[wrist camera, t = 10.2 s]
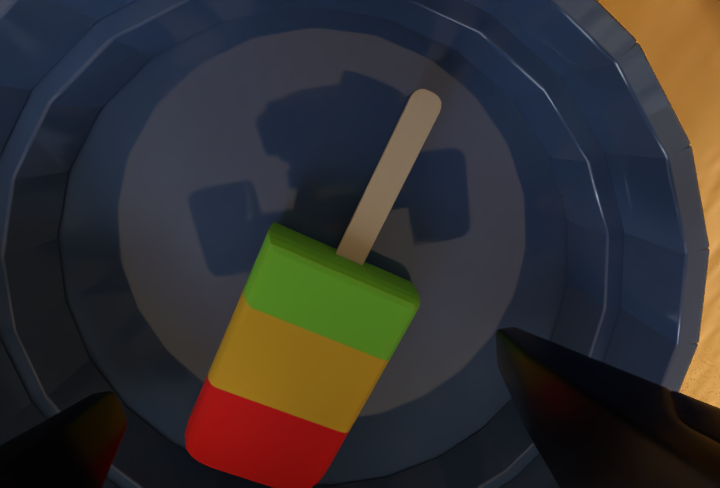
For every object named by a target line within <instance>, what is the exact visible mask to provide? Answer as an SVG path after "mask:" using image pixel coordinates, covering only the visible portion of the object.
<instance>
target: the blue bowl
mask: <svg viewBox="0 0 720 488" xmlns="http://www.w3.org/2000/svg"><path fill="white" fill-rule="evenodd" d="M635 42H636V39H635V38H634V37H633V36H632V35H631V34H630V33H629V32H628V31H627V30H626V29H625V28H624V27H623V26H622V25H621V24H620V23H619V22H618V21H617V20H616V19H615V18H614V17H613V16H612V15H611V14H610V13H609V12H608V11H607V10H606V9H605V8H604V7H603V6H602V5H601V4H600V3H599V2H598V1H597V0H0V445H2V444H4V443H5V442H7V441H9V440H11V439H13V438H14V437H16V436H18V435H20V434H21V433H23V432H25V431H27V430H29V429H30V428H32V427H34V426H36V425H38V424H39V423H41V422H43V421H45V420H46V419H48V418H50V417H52V416H54V415H55V414H57V413H59V412H61V411H63V410H64V409H66V408H68V407H70V406H71V405H73V404H75V403H77V402H79V401H80V400H82V399H84V398H86V397H88V396H89V395H91V394H94V393H98V392H105V391H112V392H114V393H115V394H116V395H117V397H118V400H119V402H120V405H121V407H122V410H123V412H124V415H125V417H126V421H127V426H126V430H125V433H124V435H123V438H122V440H121V443H120V445H119V448H118V450H117V452H116V455H115V457H114V460H113V462H112V465H111V467H110V469H109V472H108V474H107V477H106V479H105V481H104V484H103V486H102V488H273V487H270V486H267V485H264V484H261V483H257V482H254V481H251V480H248V479H245V478H242V477H239V476H236V475H233V474H229V473H226V472H223V471H220V470H217V469H214V468H211V467H209V466H207V465H204V464H202V463H200V462H198V461H197V460H196V459H194V458H193V457H192V456H191V455H190V454H189V452H188V451H187V449H186V445H185V431H186V427H187V423H188V420H189V417H190V415H191V413H192V410H193V408H194V405H195V403H196V401H197V398H198V396H199V394H200V391H201V389H202V386H203V384H204V382H205V379H206V377H207V375H208V372H209V370H210V367H211V365H212V363H213V360H214V358H215V356H216V353H217V351H218V348H219V346H220V344H221V341H222V339H223V337H224V334H225V332H226V330H227V327H228V325H229V322H230V320H231V318H232V315H233V313H234V311H235V308H236V306H237V303H238V301H239V299H240V296H241V294H242V292H243V289H244V287H245V285H246V282H247V280H248V277H249V275H250V273H251V270H252V268H253V266H254V263H255V261H256V259H257V256H258V254H259V251H260V249H261V247H262V244H263V242H264V240H265V237H266V235H267V232H268V230H269V228H270V226H271V225H272V224H273V223H274V222H276V223H278V224H280V225H282V226H285V227H287V228H289V229H292V230H294V231H296V232H298V233H301V234H303V235H305V236H308V237H310V238H312V239H314V240H317V241H319V242H321V243H324V244H326V245H328V246H330V247H333V248H335V249H337V248H338V246H339V244H340V242H341V240H342V238H343V236H344V234H345V231H346V229H347V227H348V225H349V223H350V221H351V219H352V217H353V215H354V213H355V211H356V208H357V206H358V204H359V202H360V200H361V198H362V196H363V194H364V192H365V190H366V188H367V185H368V183H369V181H370V179H371V177H372V175H373V173H374V171H375V169H376V167H377V165H378V162H379V160H380V158H381V156H382V154H383V152H384V150H385V148H386V146H387V144H388V142H389V140H390V137H391V135H392V133H393V131H394V129H395V127H396V125H397V123H398V121H399V119H400V117H401V114H402V112H403V110H404V108H405V106H406V104H407V102H408V100H409V98H410V96H411V95H412V94H413V93H414V92H415V91H416V90H419V89H426V90H429V91H431V92H433V93H434V94H436V95H437V96H438V97H439V98H440V100H441V110H440V112H439V115H438V117H437V119H436V121H435V123H434V125H433V126H432V128H431V130H430V132H429V134H428V136H427V138H426V140H425V142H424V144H423V146H422V148H421V150H420V152H419V154H418V156H417V158H416V160H415V162H414V164H413V166H412V168H411V170H410V172H409V174H408V176H407V178H406V180H405V182H404V184H403V186H402V188H401V190H400V192H399V194H398V196H397V198H396V200H395V202H394V204H393V206H392V208H391V210H390V212H389V214H388V216H387V218H386V220H385V222H384V224H383V226H382V228H381V230H380V232H379V234H378V236H377V238H376V240H375V242H374V244H373V246H372V248H371V250H370V252H369V254H368V256H367V258H366V259H365V262H367V263H369V264H371V265H374V266H376V267H378V268H381V269H383V270H385V271H387V272H390V273H392V274H394V275H397V276H399V277H401V278H403V279H406V280H408V281H410V282H411V283H412V284H413V285H414V286H415V288H416V290H417V292H418V294H419V297H420V306H419V308H418V310H417V312H416V314H415V316H414V317H413V319H412V321H411V323H410V324H409V326H408V328H407V330H406V332H405V333H404V335H403V337H402V339H401V340H400V342H399V344H398V346H397V348H396V349H395V351H394V353H393V355H392V356H391V358H390V360H389V362H388V363H387V365H386V367H385V369H384V371H383V372H382V374H381V376H380V378H379V379H378V381H377V383H376V385H375V387H374V388H373V390H372V392H371V394H370V395H369V397H368V399H367V401H366V402H365V404H364V406H363V408H362V410H361V411H360V413H359V415H358V417H357V418H356V420H355V422H354V424H353V426H352V427H351V429H350V431H349V433H348V434H347V436H346V438H345V440H344V441H343V443H342V445H341V447H340V449H339V450H338V452H337V454H336V456H335V457H334V459H333V461H332V463H331V465H330V466H329V468H328V470H327V471H326V473H325V474H324V476H323V477H322V478H321V480H320V481H319V482H318V483H317V484H316V485H314V486H313V487H312V488H560V487H559V486H558V484H557V482H556V480H555V479H554V477H553V475H552V474H551V472H550V470H549V469H548V467H547V465H546V463H545V462H544V460H543V458H542V457H541V455H540V453H539V451H538V450H537V448H536V446H535V445H534V443H533V441H532V440H531V438H530V436H529V434H528V432H527V430H526V428H525V426H524V424H523V422H522V420H521V418H520V415H519V413H518V411H517V409H516V407H515V404H514V402H513V400H512V398H511V395H510V393H509V391H508V389H507V386H506V384H505V382H504V380H503V377H502V375H501V373H500V371H499V368H498V364H497V354H496V337H495V335H496V331H497V330H498V329H501V328H507V327H516V328H519V329H521V330H524V331H526V332H529V333H531V334H534V335H536V336H539V337H541V338H544V339H546V340H549V341H551V342H554V343H556V344H559V345H561V346H564V347H566V348H569V349H571V350H574V351H576V352H579V353H581V354H584V355H586V356H589V357H591V358H594V359H596V360H599V361H601V362H604V363H606V364H609V365H611V366H614V367H616V368H619V369H621V370H624V371H626V372H629V373H631V374H634V375H636V376H639V377H641V378H644V379H646V380H649V381H651V382H654V383H656V384H659V385H661V386H664V387H666V388H669V389H670V391H677V392H679V390H680V388H681V385H682V383H683V381H684V378H685V376H686V373H687V371H688V368H689V366H690V363H691V361H692V358H693V356H694V353H695V351H696V348H697V346H698V344H697V343H698V342H699V337H700V328H701V319H702V311H703V302H704V293H705V285H706V276H707V267H708V259H709V248H708V247H709V242H708V236H707V231H706V225H705V219H704V214H703V208H702V202H701V197H700V191H699V185H698V180H697V174H696V168H695V163H694V157H693V151H692V147H691V146H690V141H689V139H688V137H687V135H686V133H685V131H684V129H683V128H682V126H681V124H680V122H679V120H678V118H677V116H676V114H675V112H674V110H673V108H672V106H671V104H670V102H669V101H668V99H667V97H666V95H665V93H664V91H663V89H662V87H661V85H660V83H659V81H658V79H657V77H656V75H655V74H654V72H653V70H652V68H651V66H650V64H649V62H648V60H647V58H646V56H645V54H644V52H643V50H642V48H641V46H640V45H639V44H638V43H635Z"/></svg>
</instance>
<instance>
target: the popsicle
mask: <svg viewBox="0 0 720 488" xmlns="http://www.w3.org/2000/svg"><path fill="white" fill-rule="evenodd" d="M440 110H441V100H440V98H439V97H438V96H437V95H436V94H434V93H433V92H431V91H429V90H426V89H419V90H416V91H415V92H414V93H413V94H412V95H411V96H410V98H409V100H408V102H407V104H406V106H405V108H404V110H403V112H402V114H401V117H400V119H399V121H398V123H397V125H396V127H395V129H394V131H393V133H392V135H391V137H390V140H389V142H388V144H387V146H386V148H385V150H384V152H383V154H382V156H381V158H380V160H379V162H378V165H377V167H376V169H375V171H374V173H373V175H372V177H371V179H370V181H369V183H368V185H367V188H366V190H365V192H364V194H363V196H362V198H361V200H360V202H359V204H358V206H357V208H356V211H355V213H354V215H353V217H352V219H351V221H350V223H349V225H348V227H347V229H346V231H345V234H344V236H343V238H342V240H341V242H340V244H339V246H338V248H337V249H335V248H333V247H330V246H328V245H326V244H324V243H321V242H319V241H317V240H314V239H312V238H310V237H308V236H305V235H303V234H301V233H298V232H296V231H294V230H292V229H289V228H287V227H285V226H282V225H280V224H278V223H276V222H274V223H273V224H272V225H271V226H270V228H269V230H268V232H267V235H266V237H265V240H264V242H263V244H262V247H261V249H260V251H259V254H258V256H257V259H256V261H255V263H254V266H253V268H252V270H251V273H250V275H249V277H248V280H247V282H246V285H245V287H244V289H243V292H242V294H241V296H240V299H239V301H238V303H237V306H236V308H235V311H234V313H233V315H232V318H231V320H230V322H229V325H228V327H227V330H226V332H225V334H224V337H223V339H222V341H221V344H220V346H219V348H218V351H217V353H216V356H215V358H214V360H213V363H212V365H211V367H210V370H209V372H208V375H207V377H206V379H205V382H204V384H203V386H202V389H201V391H200V394H199V396H198V398H197V401H196V403H195V405H194V408H193V410H192V413H191V415H190V417H189V420H188V423H187V427H186V431H185V445H186V449H187V451H188V452H189V454H190V455H191V456H192V457H193V458H194V459H196V460H197V461H198V462H200V463H202V464H204V465H207V466H209V467H211V468H214V469H217V470H220V471H223V472H226V473H229V474H233V475H236V476H239V477H242V478H245V479H248V480H251V481H254V482H257V483H261V484H264V485H267V486H270V487H273V488H312V487H313V486H314V485H316V484H317V483H318V482H319V481H320V480H321V478H322V477H323V476H324V474H325V473H326V471H327V470H328V468H329V466H330V465H331V463H332V461H333V459H334V457H335V456H336V454H337V452H338V450H339V449H340V447H341V445H342V443H343V441H344V440H345V438H346V436H347V434H348V433H349V431H350V429H351V427H352V426H353V424H354V422H355V420H356V418H357V417H358V415H359V413H360V411H361V410H362V408H363V406H364V404H365V402H366V401H367V399H368V397H369V395H370V394H371V392H372V390H373V388H374V387H375V385H376V383H377V381H378V379H379V378H380V376H381V374H382V372H383V371H384V369H385V367H386V365H387V363H388V362H389V360H390V358H391V356H392V355H393V353H394V351H395V349H396V348H397V346H398V344H399V342H400V340H401V339H402V337H403V335H404V333H405V332H406V330H407V328H408V326H409V324H410V323H411V321H412V319H413V317H414V316H415V314H416V312H417V310H418V308H419V306H420V297H419V294H418V292H417V290H416V288H415V286H414V285H413V284H412V283H411V282H410V281H408V280H406V279H403V278H401V277H399V276H397V275H394V274H392V273H390V272H387V271H385V270H383V269H381V268H378V267H376V266H374V265H371V264H369V263H367V262H365V259H366V258H367V256H368V254H369V252H370V250H371V248H372V246H373V244H374V242H375V240H376V238H377V236H378V234H379V232H380V230H381V228H382V226H383V224H384V222H385V220H386V218H387V216H388V214H389V212H390V210H391V208H392V206H393V204H394V202H395V200H396V198H397V196H398V194H399V192H400V190H401V188H402V186H403V184H404V182H405V180H406V178H407V176H408V174H409V172H410V170H411V168H412V166H413V164H414V162H415V160H416V158H417V156H418V154H419V152H420V150H421V148H422V146H423V144H424V142H425V140H426V138H427V136H428V134H429V132H430V130H431V128H432V126H433V125H434V123H435V121H436V119H437V117H438V115H439V112H440Z"/></svg>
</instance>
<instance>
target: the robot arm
mask: <svg viewBox="0 0 720 488" xmlns="http://www.w3.org/2000/svg"><path fill="white" fill-rule="evenodd" d="M495 337H496V354H497V364H498V368H499V371H500V373H501V375H502V377H503V380H504V382H505V384H506V386H507V389H508V391H509V393H510V395H511V398H512V400H513V402H514V404H515V407H516V409H517V411H518V413H519V415H520V418H521V420H522V422H523V424H524V426H525V428H526V430H527V432H528V434H529V436H530V438H531V440H532V441H533V443H534V445H535V446H536V448H537V450H538V451H539V453H540V455H541V457H542V458H543V460H544V462H545V463H546V465H547V467H548V469H549V470H550V472H551V474H552V475H553V477H554V479H555V480H556V482H557V484H558V486H559V487H560V488H720V408H717V407H715V406H712V405H709V404H707V403H704V402H702V401H699V400H696V399H694V398H692V397H689V396H687V395H684V394H682V393H679V392H677V391H670V389H669V388H666V387H664V386H661V385H659V384H656V383H654V382H651V381H649V380H646V379H644V378H641V377H639V376H636V375H634V374H631V373H629V372H626V371H624V370H621V369H619V368H616V367H614V366H611V365H609V364H606V363H604V362H601V361H599V360H596V359H594V358H591V357H589V356H586V355H584V354H581V353H579V352H576V351H574V350H571V349H569V348H566V347H564V346H561V345H559V344H556V343H554V342H551V341H549V340H546V339H544V338H541V337H539V336H536V335H534V334H531V333H529V332H526V331H524V330H521V329H519V328H516V327H507V328H501V329H498V330H497V331H496V335H495ZM126 426H127V421H126V417H125V415H124V412H123V410H122V407H121V405H120V402H119V400H118V397H117V395H116V394H115V393H114V392H112V391H105V392H98V393H94V394H91V395H89V396H88V397H86V398H84V399H82V400H80V401H79V402H77V403H75V404H73V405H71V406H70V407H68V408H66V409H64V410H63V411H61V412H59V413H57V414H55V415H54V416H52V417H50V418H48V419H46V420H45V421H43V422H41V423H39V424H38V425H36V426H34V427H32V428H30V429H29V430H27V431H25V432H23V433H21V434H20V435H18V436H16V437H14V438H13V439H11V440H9V441H7V442H5V443H4V444H2V445H0V488H102V486H103V484H104V481H105V479H106V477H107V474H108V472H109V469H110V467H111V465H112V462H113V460H114V457H115V455H116V452H117V450H118V448H119V445H120V443H121V440H122V438H123V435H124V433H125V430H126Z"/></svg>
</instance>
